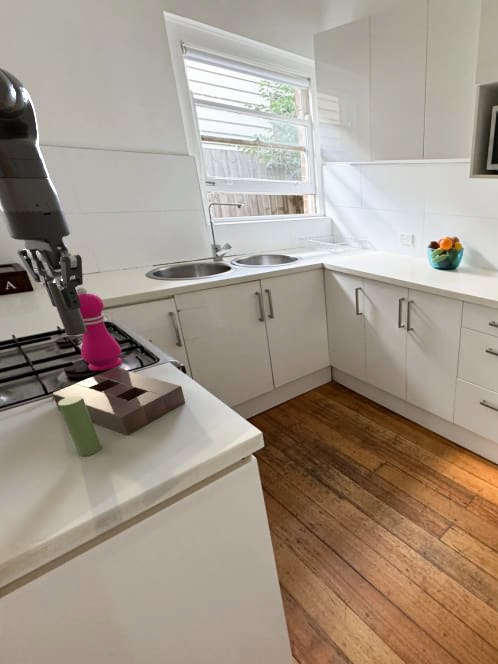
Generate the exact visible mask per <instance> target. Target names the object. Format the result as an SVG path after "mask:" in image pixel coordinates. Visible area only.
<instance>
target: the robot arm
mask: <svg viewBox="0 0 498 664" xmlns="http://www.w3.org/2000/svg"><path fill="white" fill-rule="evenodd" d="M39 140H40V139H39V131H38V123H37V116H36V112H35V107H34V104H33V101H32V99H31V97H30V94H29V92H28V91H27V88H26V87H25V86H24V84H23V83H22V82H21V81H20V79H18V78H17V76H15V75H14V74H13V73H11V72H9V71H8V70H6V69H4V68H2V67H0V214H1V216H2V219H3V221H4V224H5V227H6V229H7V232H8V234H9V237H10V238H12V239H14V240H17V241H23V242H24V248H23V249H17V251H16V253H17V255H18V257H19V258H20V260H21V261H22V264H23V265H24V266H25V268H26V269H27V271H28V272H29V274H30V276H31V278H32V279H33V280H34V282H35V283H37V284H38V283H40V284H41V286H42V287H43V288H45V290H46V292H47V295H48V297H49V300H50V303H51V305H52V306H53V307H55V308H56V305H55V303H54V300H53V297H52V295H51V292H50V289H49V287H48V284H47V282H48V281H50V280H54V281H55V283H56V285H57V287H58V289H59V293H60V296H61V298H62V301H63V304H64V306H65V309H67V310H73V309H77V308H80V307H81V303H80V300H79V297H78V294H77V291H76V289H77V288H78V286H82V285H83V284H84V278H83V277H84V275H83V260H82V259H83V258H82V256H81V255H80V254H72V253H70V252H69V248H68V247H67V245H66V244H65V242H64V239H63V238H65V237H68V236H69V235H71V231H70V228H69V225H68V222H67V220H66V216H65V213H64V210H63V207H62V204H61V201H60V198H59V194H58V193H57V190H56V188H55V186H54V185H53V182H52V179H51V177H50V173H49V172H48V169H47V165H46V162H45V160H44V156H43V154H42V152H41V149H40V143H39ZM61 279H62V280H61Z"/></svg>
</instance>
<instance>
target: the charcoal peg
mask: <svg viewBox="0 0 498 664" xmlns="http://www.w3.org/2000/svg"><path fill="white" fill-rule="evenodd" d="M61 280H62V278H61ZM47 284H48V287H49V289H50V292H51V295H52V297H53V300H54V303H55V305H56V307H55V308H56V310H57V313H58V316H59V318H60V321H61V324H62V326H63V330H64V332H65V334H66V336H69V337H71V336H73V337H74V336H79V335H83V333H85V332H87V329H86V326H85V323H84V320H83V318H82V315H81V312H80V309H79V308H77V309H73V310H67V309H65V306H64V304H63V301H62V298H61V296H60V293H59V289H58V287H57V285H56V283H55V281H54V280H50V281H48V282H47Z"/></svg>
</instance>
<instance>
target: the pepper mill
mask: <svg viewBox="0 0 498 664" xmlns="http://www.w3.org/2000/svg"><path fill="white" fill-rule="evenodd" d="M75 289H76V291H77V294H78V297H79V300H80V303H81V307H80V308H79V309H80V312H81V315H82V318H83V320H84V323H85V326H86V329H87V332H85V333H83V334H82V343H81V347H80V354H81V358H82V360H83V361H84V362H86V363H88V369H89V370H90V371H94V372H101V371H108V370H110V369H113V368H117V367H119V366H121V364H122V363H123V359H122V358H120V356H121V355H122V348H121V346H120V344H119V343H118V341H117V340H116V339H115V338H114V336H112V335H111V334H110V332H109V331H108V330H107V328H106V325H105V320H106V318H105V314H104V313H103V310H104V308H105V304H104V301H103V300H102V298H101V297H99V296H98V295H97V294H94V293H87V292H88V291H87V289H86V288H85V287H83V286H80V287H76V288H75Z"/></svg>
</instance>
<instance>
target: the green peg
mask: <svg viewBox="0 0 498 664" xmlns="http://www.w3.org/2000/svg"><path fill="white" fill-rule="evenodd" d="M58 405H59V408H60V410H61V411H60V413H61V415H62V418H63V419H64V422H65V424H66V427H67V429H68V432H69V435H70V437H71V439H72V442H73V444H74V446H75V449H76V452H77V453H78V455H79V456H80V457H90V456H93V455H95V454H97V453H98V452H99V451H100V450H101V449H102V445H101V442H100V439H99V437H98V434H97V432H96V429H95V426H94V423H92V421H91V418H90V415H89V413H88V410H87V407H86V405H85V402H84V399H83V397H82V396H80V395H75V396H70V397H67V398H64V399H62V400H60V401H59V402H58Z"/></svg>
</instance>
